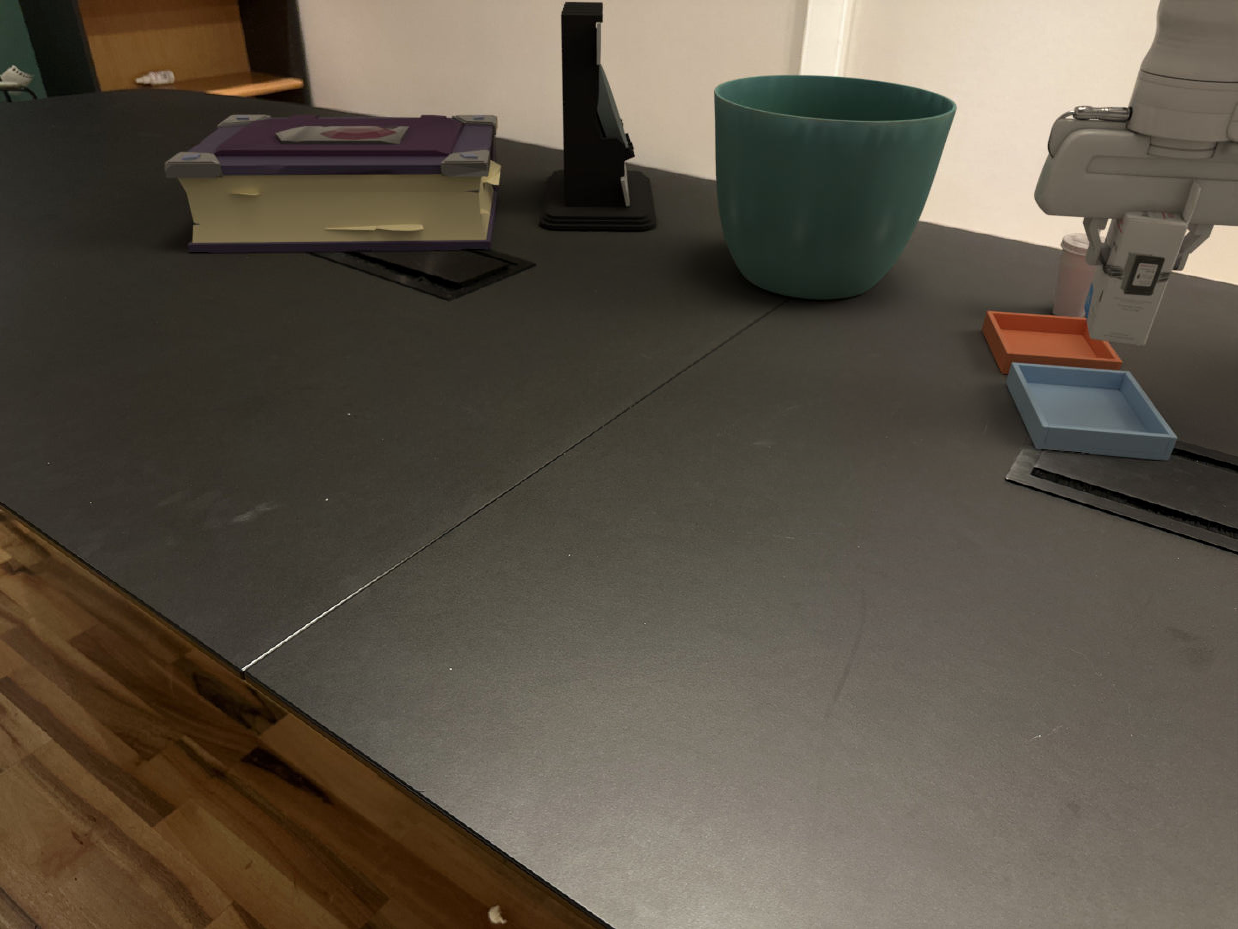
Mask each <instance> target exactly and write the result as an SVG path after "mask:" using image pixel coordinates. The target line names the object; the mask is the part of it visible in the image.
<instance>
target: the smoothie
mask: <svg viewBox="0 0 1238 929" xmlns="http://www.w3.org/2000/svg"><path fill="white" fill-rule="evenodd" d="M1098 232H1099V236H1100V239H1101V242H1102V243H1104V242H1105V239H1106V236H1102V235H1101V232H1102V230H1099V229H1098ZM1089 243H1090V242H1089V241H1088V238H1087V235H1086V233H1078V232H1077V233H1068V234H1065V235H1064V236H1063V237H1062V240H1061V242H1060V244H1059V245H1060V248H1061V249H1062V250H1061V254H1060V255H1061V256H1060V261H1059V262H1060V263H1059V267H1058V268H1059V269H1058V273H1057V274H1058V275H1057V282H1056V288H1055V294H1054V302H1053V308H1052V314H1053V315H1054V316H1066V317H1080V318H1085V316H1086V314H1085V309H1084V305H1085V302H1086V299H1087V295H1088V292H1089V289H1090V286H1091V283H1092V280H1093V276H1094V273H1095V270H1096V267H1097V265H1088V264H1087V262H1086V261H1085V257H1086V253H1087V250H1088V246H1089Z"/></svg>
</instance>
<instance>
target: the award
mask: <svg viewBox="0 0 1238 929" xmlns="http://www.w3.org/2000/svg"><path fill="white" fill-rule="evenodd" d="M603 11H604V3H603V2H601V1H565V2H564V3H563V7H562V10H561V11H560V12H561V14H560V36H561V40H560V43H561V91H562V92H561V94H562V97H561V98H562V134H563V135H562V144H563V148H562V149H563V151H562V152H563V169H558V170H555V171H553V172H552V174H551V175H550V176H548V177H547V180H546V186H545V189H544V191H545V192H544V196H543V200H542V206H541V212H540V215H539V216H540V217H539V225H540V226H541V227H542V228H545V229H549V230H572V231H573V230H575V231H576V230H577V231H578V230H579V231H581V230H583V231H584V230H586V231H587V230H588V231H589V230H590V231H595V230H596V231H645V230H646V231H647V230H652V229H654V228H655V227H656V226H657V225H658V224H657V223H658V221H657V215H656V209H655V203H654V202H655V201H654V197H653V190H652V182H651V179H650V177H648V176H647V175H646V174H644V173H643V172H642V171H639V170H627V169H628V168H627V165H626V161H629V160H630V159H633V158H635V157H636V154H635V151H634V150H635V147H634V144H633V141H632V140H631V138H630V135H629V132H626V131H625V129H624V122H623V119H622V117H621V116H620V112H619V109H618V106H617V103H616V100H615V97H614V94H613V91H612V88H611V85H610V82H609V80H608V77H607V74H606V71H605V69H604V67H603V65H602V62H601V61H602V60H601V59H602V57H601V56H602V23H603V22H604V13H603Z"/></svg>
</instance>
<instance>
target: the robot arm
mask: <svg viewBox="0 0 1238 929" xmlns="http://www.w3.org/2000/svg"><path fill="white" fill-rule="evenodd" d="M1155 16H1156V17H1155V18H1156V23H1155V25H1156V26H1155V32H1154V37H1153V40H1152V43H1151V45H1150V48H1149V49H1148V51H1147V52H1146V54H1145V55H1144V57H1143V58H1142V61H1141V62H1140V66H1139V70H1138V72H1137V76H1136V78H1135V83H1134V85H1133V89H1132V92H1131V95H1130V99H1129V102H1128V105H1127V107H1126V106H1103V107H1095V106H1094V107H1093V106H1091V105H1078V106H1075V107H1073V108H1074V109H1072V110H1069V111H1065V112H1064V113H1062V114H1061V115H1060V116H1058V117H1057V118H1056V119H1055V120H1054V122H1053V124H1052V126H1051V128H1050V133H1049V136H1048V140H1047V152H1048V154H1047V156H1046V158H1045V160H1044V163H1043V165H1042V168H1041V171H1040V173H1039V176H1038V180H1037V182H1036V184H1035V185H1036V186H1035V189H1034V193H1033V199H1034V201H1035V203H1036V205H1037V206H1038V208H1039V209H1040V210H1041V211H1042V212H1043V213H1044V214H1045V215H1047V216H1054V217H1055V216H1056V217H1072V218H1083V220H1082V226H1083V228H1084V231H1085V234H1086V235H1087V238H1088V241H1089V242H1090V243H1089V246H1088V250H1087V253H1086V257H1085V261H1086V262H1087V264H1088V265H1099V266H1106V264H1107V261H1108V259H1107V258H1108V257H1109V255H1110V252H1111V248H1110V247H1109V246H1108V244H1107V243H1102V242H1101V239H1100V236H1101V235H1100V236H1099V232H1098V229H1099V230H1101V231H1105V230H1106V228H1107V224H1108V222H1109V220H1112V219H1120V220H1122V219H1123V218H1124V215H1125V213H1126V212H1130V211H1140V212H1160V213H1171V214H1179V215H1180V216H1182V214H1183V212H1184V209H1185V205H1186V202H1187V199H1188V197H1189V192H1190V189H1191V186H1192V184H1193V181H1194V178H1196V180H1197V182H1198V183H1199V185H1200V186H1201V190H1200V194H1199V197H1198V200H1197V202H1196V205H1195V208H1194V210H1193V213H1192V216H1191V219H1190V221H1189V224H1188V228H1187V230H1188V231H1187V232H1186V233H1185V236H1184V239H1183V242H1182V245H1181V247H1180V250H1179V253H1178V256H1177V258H1176V261H1175V264H1174V267H1173V269H1172V271H1173V272H1174V271H1176V272H1183V271H1184V269H1185V268H1186V264H1187V262H1188V259H1189V255H1190V254H1192V253H1193V252H1195V251H1196V250H1197V249H1198V248H1199V247H1200V246H1201V245H1203V243H1204V242H1206V241H1207V240H1208V239H1209V238H1210V237H1211V234H1212V232H1213V229H1214V227H1215V226H1223V227H1225V226H1226V227H1238V0H1159V2H1158V7H1157V10H1156V15H1155ZM1071 116H1072V118H1069V117H1071Z"/></svg>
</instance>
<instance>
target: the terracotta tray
mask: <svg viewBox="0 0 1238 929" xmlns="http://www.w3.org/2000/svg"><path fill="white" fill-rule="evenodd" d="M981 332H982V333H983V336H984V338H985V340H986V342H987V345H988V346H989V350H990V351H991V353H992V356H993V358H994V360H995V362H996V364H997V366H998V368H999V371H1000V373H1001V375H1008V374H1009V371H1010V367H1011V363H1012V362H1014V363H1027V364H1040V365H1053V366H1066V367H1078V368H1091V369H1104V370H1117V371H1121V368H1122V366H1123V365H1122V364H1123V361H1122V359H1121V358H1120V357H1119V355H1118V353H1117V352H1116V351H1115V350H1114V348H1113V347H1112V345H1111V343H1110V342H1109V341H1103V340H1095V339H1091V338H1090V337H1089V331H1088V326H1087V320H1086V317H1083V318H1080V317H1066V316H1056V315H1051V314H1036V313H1024V312H1023V313H1021V312H1010V311H1009V312H1008V311H995V310H994V311H993V310H986V312H985V316H984V320H983V324H982V328H981Z"/></svg>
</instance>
